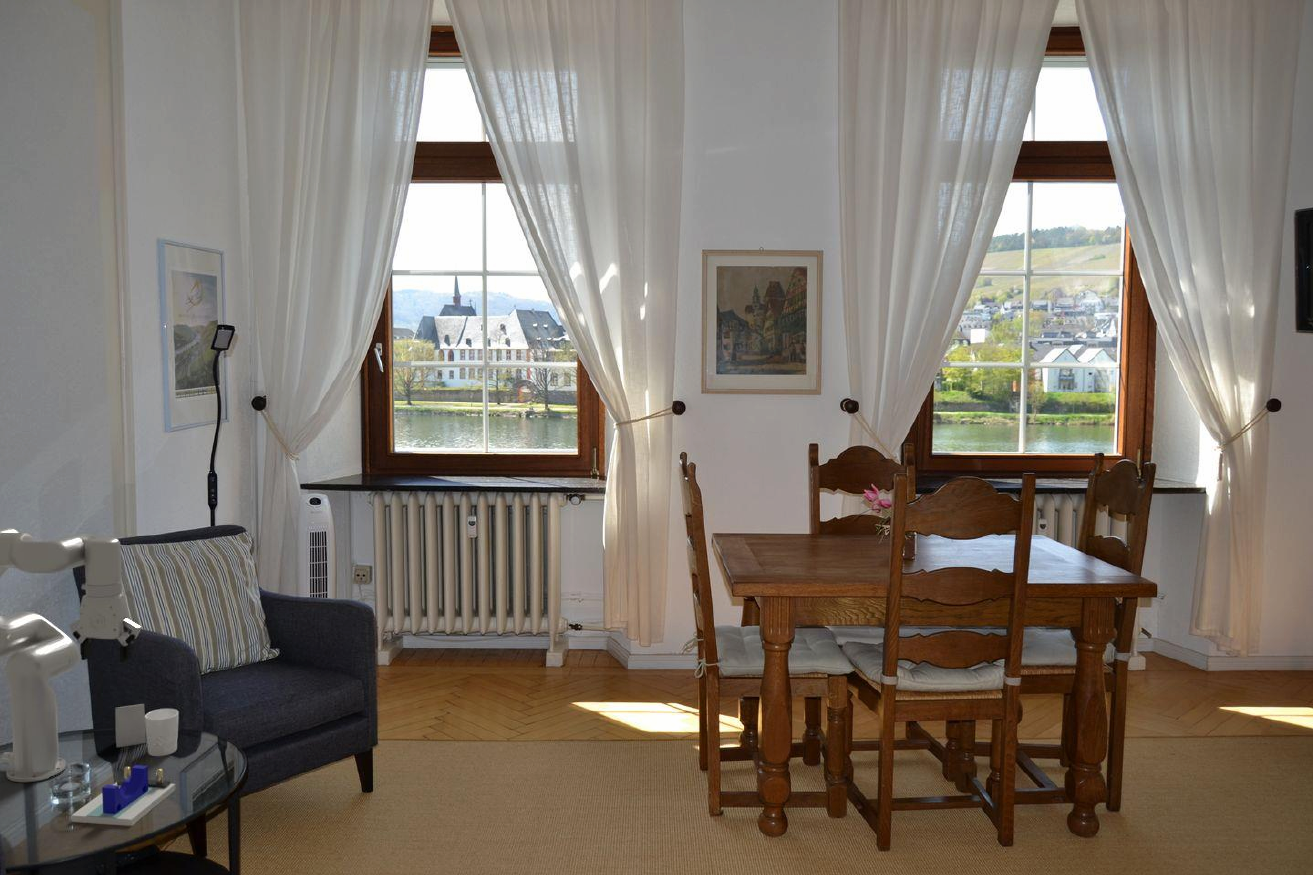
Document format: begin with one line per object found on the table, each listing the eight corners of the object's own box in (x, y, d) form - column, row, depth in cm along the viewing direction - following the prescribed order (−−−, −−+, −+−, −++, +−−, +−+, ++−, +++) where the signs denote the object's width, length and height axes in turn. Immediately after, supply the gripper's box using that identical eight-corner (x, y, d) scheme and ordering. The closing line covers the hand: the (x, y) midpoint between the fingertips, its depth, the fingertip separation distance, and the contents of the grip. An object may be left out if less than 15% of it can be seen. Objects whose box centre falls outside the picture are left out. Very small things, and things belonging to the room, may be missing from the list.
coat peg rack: (117, 784, 246) (116, 768, 246) (122, 781, 248) (121, 765, 248) (165, 788, 245) (165, 771, 245) (170, 784, 247) (169, 768, 247)
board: (71, 821, 231) (71, 814, 231) (119, 786, 249) (119, 779, 249) (131, 825, 230) (131, 818, 230) (175, 789, 248) (175, 782, 248)
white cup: (162, 759, 264) (162, 721, 263) (138, 754, 267) (137, 717, 266) (186, 747, 272) (185, 711, 271) (162, 743, 274) (161, 706, 273)
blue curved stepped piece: (130, 788, 244) (129, 764, 243) (148, 790, 243) (147, 765, 243) (96, 812, 232) (96, 786, 231) (115, 814, 232) (114, 788, 231)
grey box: (145, 742, 274) (144, 706, 273) (116, 747, 271) (115, 710, 270) (144, 737, 277) (143, 701, 276) (116, 742, 274) (115, 705, 273)
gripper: (59, 591, 243) (61, 662, 245) (129, 595, 242) (131, 666, 244) (79, 583, 251) (81, 652, 253) (147, 587, 250) (149, 656, 251)
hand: (106, 659), depth 248 cm, fingers open, 9 cm apart
